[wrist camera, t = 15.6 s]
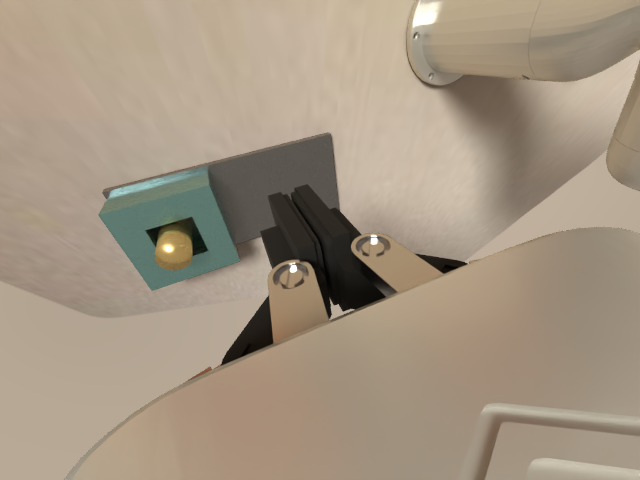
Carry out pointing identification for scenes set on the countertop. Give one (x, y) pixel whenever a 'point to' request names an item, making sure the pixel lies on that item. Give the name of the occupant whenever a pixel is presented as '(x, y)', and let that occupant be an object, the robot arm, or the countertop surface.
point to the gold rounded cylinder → (174, 245)
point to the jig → (215, 204)
